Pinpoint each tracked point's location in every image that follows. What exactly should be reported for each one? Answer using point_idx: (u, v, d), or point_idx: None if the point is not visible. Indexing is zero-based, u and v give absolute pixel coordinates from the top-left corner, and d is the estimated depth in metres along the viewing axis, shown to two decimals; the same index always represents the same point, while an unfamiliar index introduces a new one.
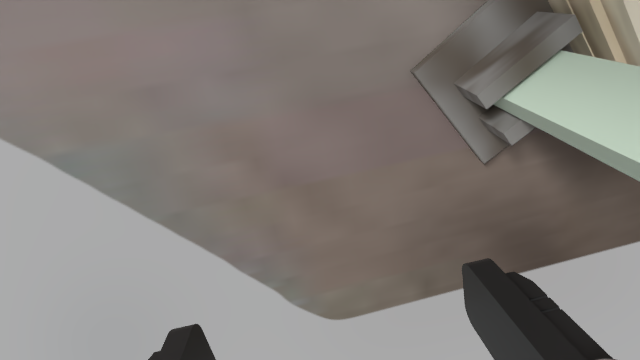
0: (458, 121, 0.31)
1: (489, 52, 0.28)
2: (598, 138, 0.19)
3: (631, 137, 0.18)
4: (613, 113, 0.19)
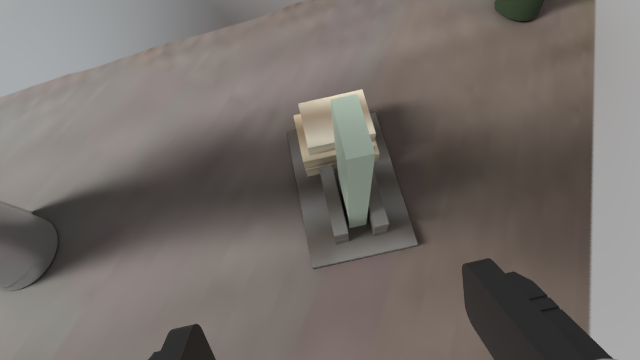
0: (367, 251, 0.38)
1: (329, 214, 0.40)
2: (346, 186, 0.28)
3: (344, 172, 0.27)
4: (342, 173, 0.30)
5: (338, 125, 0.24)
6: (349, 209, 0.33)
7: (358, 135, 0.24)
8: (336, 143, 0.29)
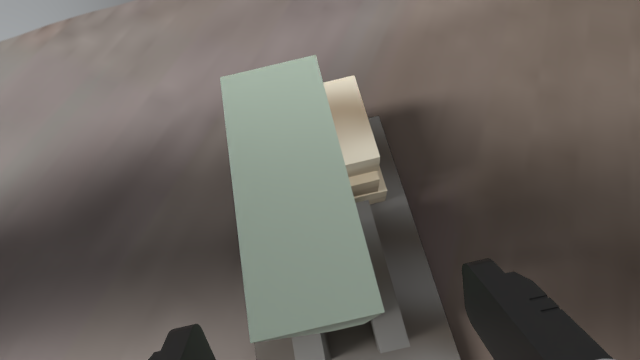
0: None
1: None
2: None
3: None
4: None
5: (236, 174, 0.06)
6: None
7: (310, 220, 0.06)
8: None
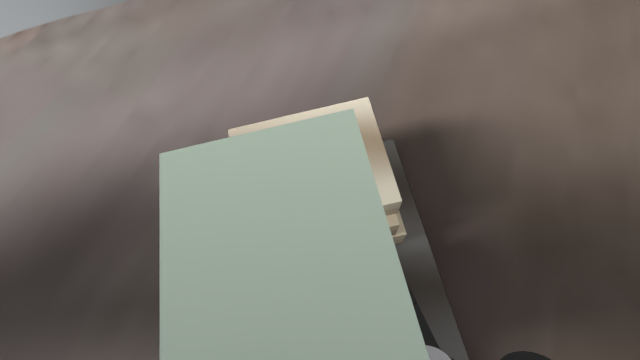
0: None
1: None
2: None
3: None
4: None
5: None
6: None
7: None
8: None
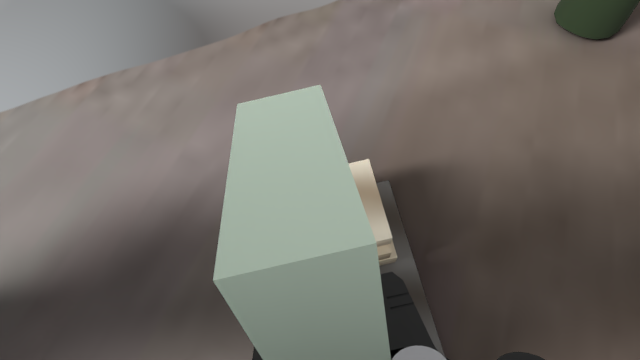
0: None
1: None
2: None
3: None
4: None
5: (234, 155, 0.06)
6: None
7: (300, 178, 0.05)
8: None
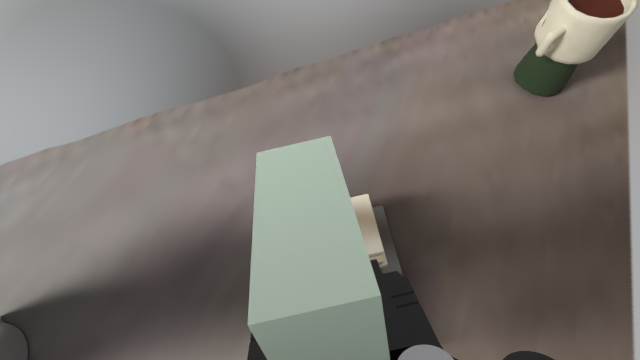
0: None
1: None
2: None
3: None
4: None
5: (258, 205, 0.07)
6: None
7: (316, 231, 0.06)
8: None
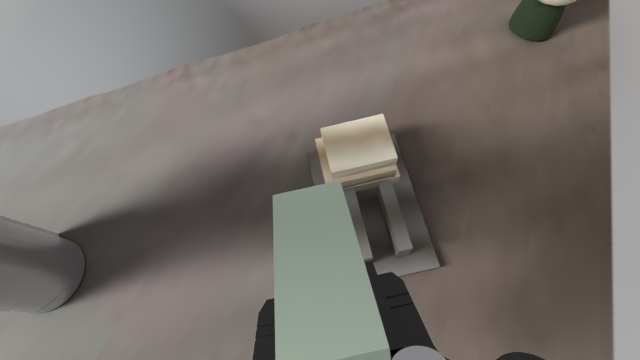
0: None
1: None
2: None
3: None
4: None
5: (277, 252, 0.08)
6: None
7: (330, 281, 0.07)
8: None
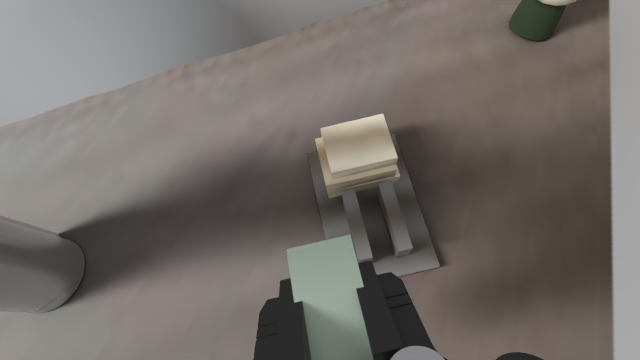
0: None
1: (351, 236, 0.41)
2: None
3: None
4: None
5: None
6: None
7: None
8: None
